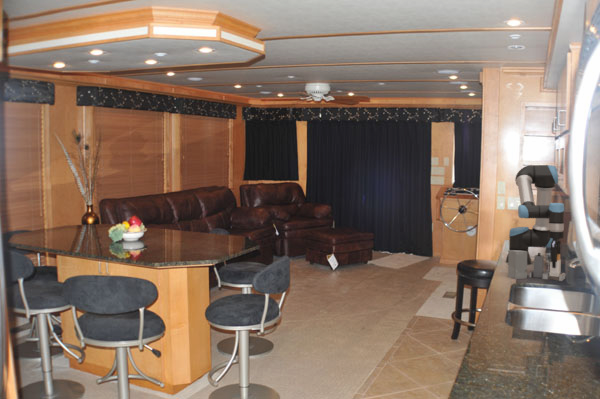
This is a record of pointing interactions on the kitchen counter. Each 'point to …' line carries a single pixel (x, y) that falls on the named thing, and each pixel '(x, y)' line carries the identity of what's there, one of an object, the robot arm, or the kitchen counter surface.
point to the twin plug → (538, 265)
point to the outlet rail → (548, 276)
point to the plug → (557, 267)
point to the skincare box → (517, 264)
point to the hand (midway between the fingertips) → (555, 272)
